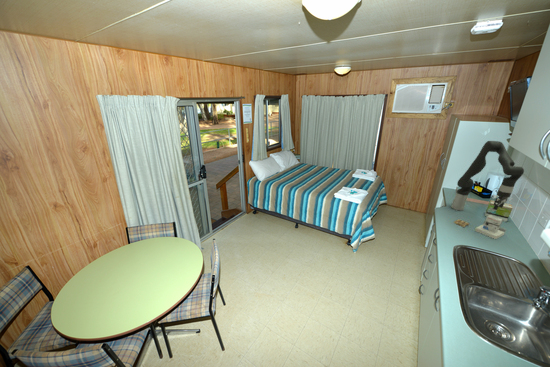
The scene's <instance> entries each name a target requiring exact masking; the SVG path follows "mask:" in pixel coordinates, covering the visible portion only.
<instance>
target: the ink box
mask: <svg viewBox="0 0 550 367" xmlns="http://www.w3.org/2000/svg"><path fill="white" fill-rule="evenodd" d="M484 222H485V223H484ZM484 222H483V224H484V226H483V228H484V229H487V230H489V231H492V232H494V233H496V232H497V231H498V229H499V227H501V224H502V222H503V221H502V219H500V218H498V217H495V216H492V215H489V216H487V217H486V218H485V221H484Z"/></svg>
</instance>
